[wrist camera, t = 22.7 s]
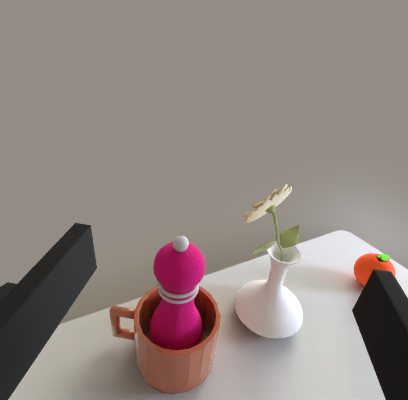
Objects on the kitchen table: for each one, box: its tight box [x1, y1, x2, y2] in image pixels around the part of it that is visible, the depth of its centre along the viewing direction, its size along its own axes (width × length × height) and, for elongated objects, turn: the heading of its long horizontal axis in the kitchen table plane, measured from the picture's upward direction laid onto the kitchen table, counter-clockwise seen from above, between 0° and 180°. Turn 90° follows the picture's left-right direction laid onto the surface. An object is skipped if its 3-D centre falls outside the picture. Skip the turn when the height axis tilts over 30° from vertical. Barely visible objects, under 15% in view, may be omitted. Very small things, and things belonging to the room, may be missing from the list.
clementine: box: [354, 253, 395, 286], centre depth 55 cm, size 8×7×7 cm
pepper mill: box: [150, 236, 205, 350], centre depth 36 cm, size 7×7×20 cm
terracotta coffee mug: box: [110, 285, 220, 393], centre depth 40 cm, size 15×11×8 cm
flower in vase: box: [234, 184, 303, 339], centre depth 42 cm, size 13×11×25 cm
